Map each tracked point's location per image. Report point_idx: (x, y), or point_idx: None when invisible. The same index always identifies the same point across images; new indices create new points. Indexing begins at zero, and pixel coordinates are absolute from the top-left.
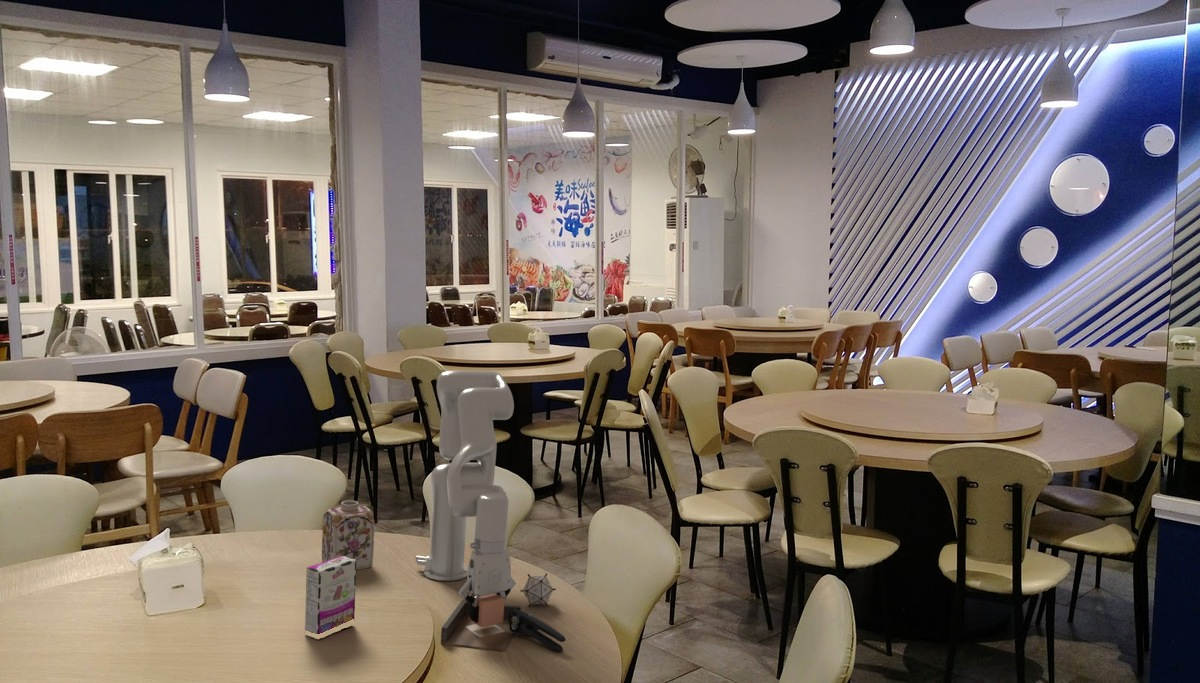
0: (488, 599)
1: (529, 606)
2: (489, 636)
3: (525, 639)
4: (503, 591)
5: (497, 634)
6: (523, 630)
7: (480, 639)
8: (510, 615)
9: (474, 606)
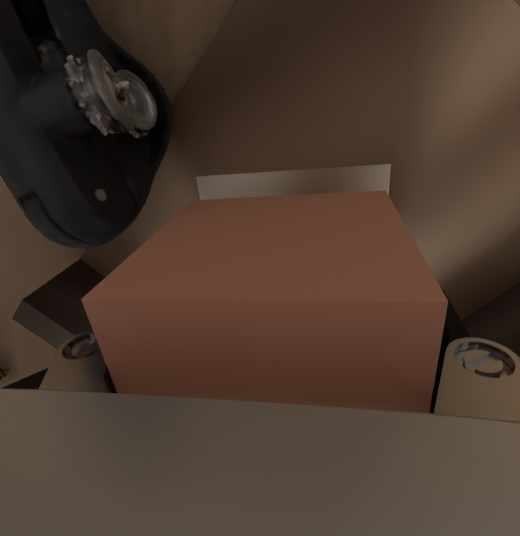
0: (293, 362)
1: (3, 370)
2: (323, 150)
3: (105, 20)
4: (30, 390)
5: (259, 157)
6: (82, 18)
7: (407, 130)
8: (115, 200)
9: (486, 342)
